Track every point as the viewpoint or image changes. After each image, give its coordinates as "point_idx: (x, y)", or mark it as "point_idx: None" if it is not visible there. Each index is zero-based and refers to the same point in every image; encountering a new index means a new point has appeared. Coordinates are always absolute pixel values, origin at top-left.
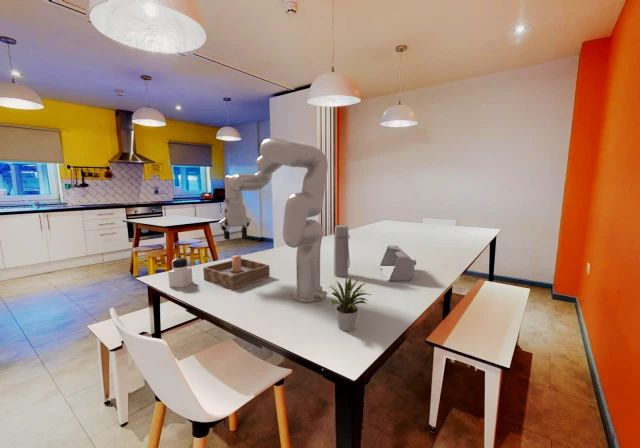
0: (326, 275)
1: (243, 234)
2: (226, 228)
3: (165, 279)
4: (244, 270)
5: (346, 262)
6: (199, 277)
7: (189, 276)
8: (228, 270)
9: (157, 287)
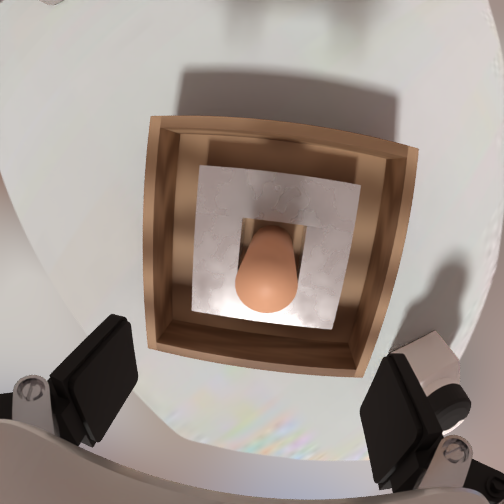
0: (77, 5)
1: (124, 368)
2: (463, 474)
3: None
4: (237, 229)
5: None
6: None
7: (414, 361)
8: None
9: None
